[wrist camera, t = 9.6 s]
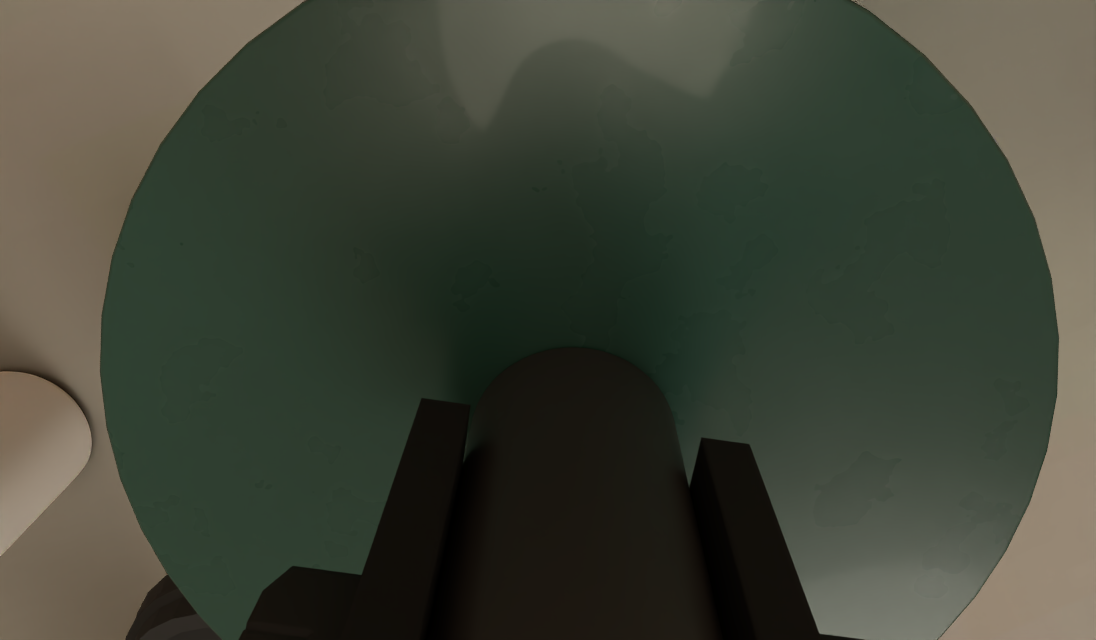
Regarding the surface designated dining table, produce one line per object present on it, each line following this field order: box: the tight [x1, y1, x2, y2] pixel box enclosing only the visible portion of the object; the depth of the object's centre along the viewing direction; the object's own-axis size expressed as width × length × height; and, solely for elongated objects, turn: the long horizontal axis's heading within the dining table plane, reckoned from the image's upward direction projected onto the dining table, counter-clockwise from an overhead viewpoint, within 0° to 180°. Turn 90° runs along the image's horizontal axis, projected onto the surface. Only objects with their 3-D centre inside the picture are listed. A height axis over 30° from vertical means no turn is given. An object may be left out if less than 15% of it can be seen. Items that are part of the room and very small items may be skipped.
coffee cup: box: [126, 575, 222, 640], centre depth 37 cm, size 8×8×15 cm
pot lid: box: [100, 0, 1059, 640], centre depth 11 cm, size 17×17×12 cm
